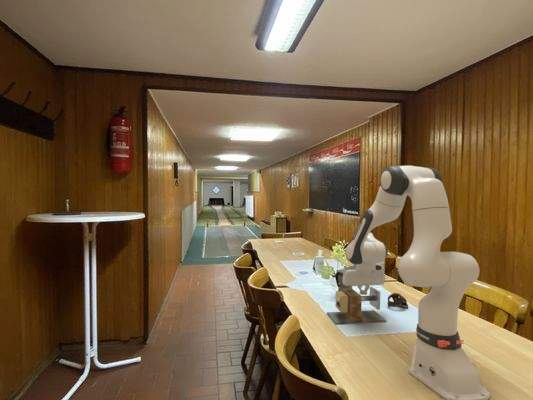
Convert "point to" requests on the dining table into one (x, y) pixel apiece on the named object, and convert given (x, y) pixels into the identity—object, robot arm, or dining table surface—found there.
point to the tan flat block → (342, 302)
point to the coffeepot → (339, 280)
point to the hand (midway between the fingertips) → (363, 294)
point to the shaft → (370, 298)
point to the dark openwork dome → (397, 300)
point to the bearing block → (354, 311)
